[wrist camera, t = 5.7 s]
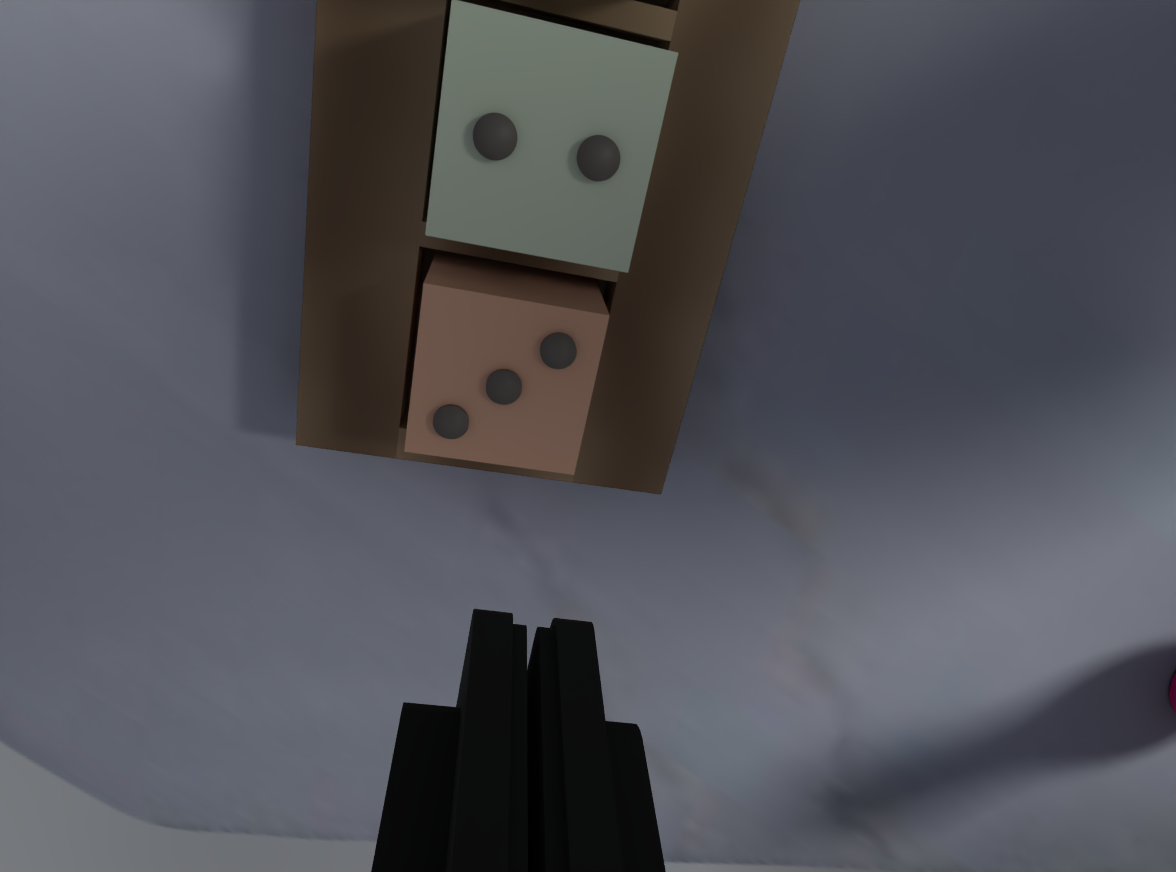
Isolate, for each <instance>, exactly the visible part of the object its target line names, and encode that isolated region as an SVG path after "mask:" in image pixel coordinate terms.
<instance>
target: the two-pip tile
mask: <svg viewBox="0 0 1176 872" xmlns="http://www.w3.org/2000/svg"><path fill="white" fill-rule="evenodd" d="M677 57H678V53H677V52H673V51H669V50H665V49H661V48H656V47H652V46H648V45H644V44H640V43H635V42H631V41H627V40H623V39H619V38H614V37H610V36H606V35H602V34H598V33H593V32H589V31H585V30H581V29H577V28H572V27H568V26H564V25H560V24H556V23H551V22H547V21H543V20H539V19H535V18H530V17H526V16H522V15H518V14H513V13H509V12H505V11H501V10H497V9H492V8H488V7H484V6H480V5H476V4H471V3H467V2H463V1H459V0H452V1H451V10H450V19H449V28H448V37H447V46H446V54H445V63H444V72H443V81H442V90H441V99H440V108H439V117H438V126H437V134H436V143H435V152H434V161H433V170H432V179H431V188H430V197H429V205H428V214H427V223H426V232H425V235H427V236H432V237H438V238H443V239H448V240H454V241H459V242H465V243H470V244H475V245H481V246H486V247H492V248H497V249H502V250H508V251H513V252H519V253H524V254H529V255H535V256H540V257H546V258H551V259H556V260H562V261H567V262H573V263H578V264H583V265H589V266H594V267H600V268H605V269H610V270H616V271H621V272H627V273H628V271H629V267H630V262H631V258H632V253H633V249H634V245H635V240H636V236H637V232H638V227H639V223H640V218H641V214H642V210H643V205H644V201H645V197H646V192H647V188H648V183H649V179H650V175H651V170H652V166H653V162H654V157H655V153H656V148H657V144H658V140H659V135H660V131H661V127H662V122H663V118H664V113H665V109H666V105H667V100H668V96H669V92H670V87H671V83H672V78H673V74H674V70H675V65H676V61H677Z"/></svg>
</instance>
